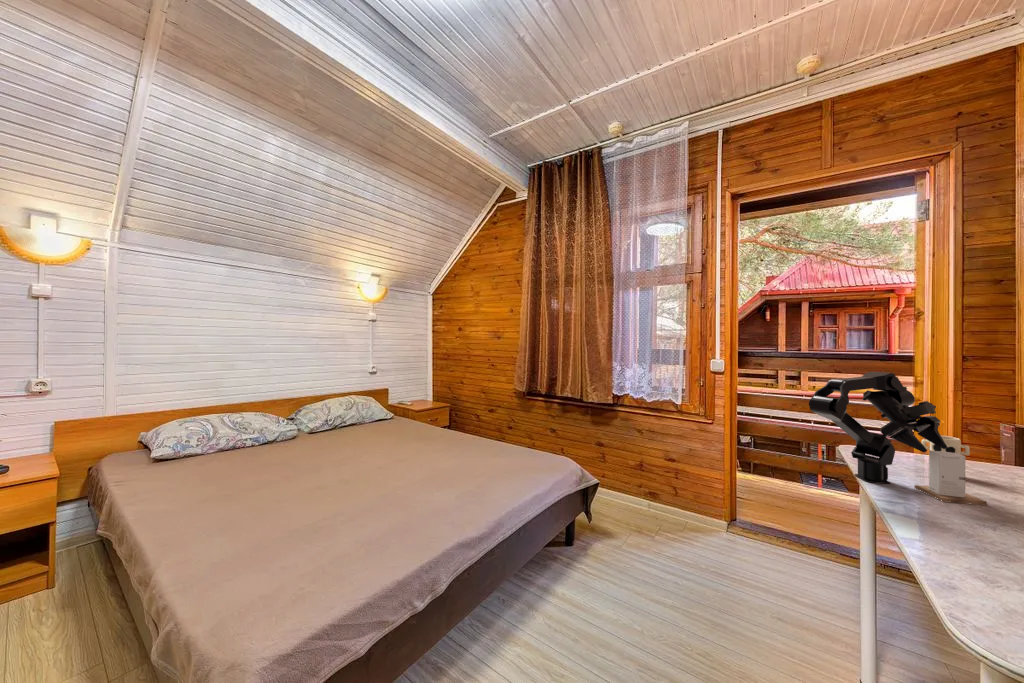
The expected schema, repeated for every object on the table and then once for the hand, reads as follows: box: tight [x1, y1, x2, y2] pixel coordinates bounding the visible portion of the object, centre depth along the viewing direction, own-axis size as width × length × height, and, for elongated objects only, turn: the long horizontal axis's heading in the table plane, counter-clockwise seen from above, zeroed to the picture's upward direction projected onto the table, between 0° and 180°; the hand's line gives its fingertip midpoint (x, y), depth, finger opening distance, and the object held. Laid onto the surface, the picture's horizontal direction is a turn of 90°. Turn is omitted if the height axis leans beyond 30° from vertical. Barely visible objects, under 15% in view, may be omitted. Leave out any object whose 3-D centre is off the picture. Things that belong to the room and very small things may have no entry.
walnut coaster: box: [914, 484, 988, 506], centre depth 111 cm, size 10×10×1 cm
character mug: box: [921, 434, 971, 456], centre depth 129 cm, size 11×7×13 cm, turn 36°
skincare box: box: [928, 450, 966, 497], centre depth 110 cm, size 6×4×12 cm
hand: (935, 450), depth 113 cm, fingers open, 9 cm apart
